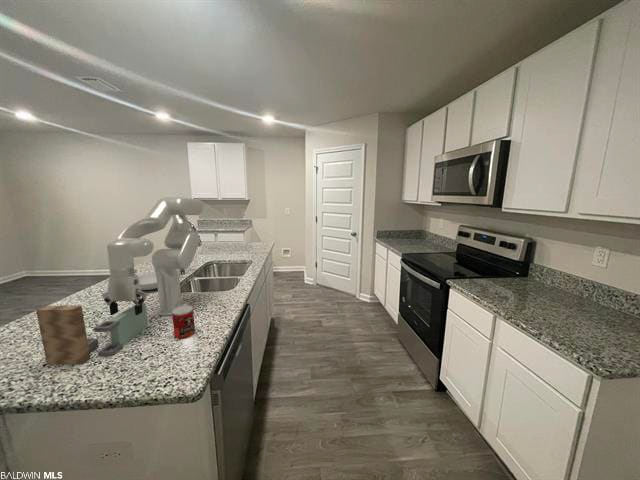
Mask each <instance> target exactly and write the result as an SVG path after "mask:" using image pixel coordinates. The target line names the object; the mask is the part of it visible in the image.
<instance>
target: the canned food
mask: <svg viewBox="0 0 640 480" xmlns="http://www.w3.org/2000/svg"><path fill="white" fill-rule="evenodd" d="M194 315H195V314H194V307H193V306H191V305H189V306H180V307H177V308H175V309H174V310H173V311H172V315H171V316H172V317H171V318H172V323H173V333H174V337H175V338H176V339H181V340H182V339H183V340H184V339H188V338H190V337H192V336H193V335H194V334H195V332H196V328H195V327H196V326H195V316H194Z"/></svg>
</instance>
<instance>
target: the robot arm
mask: <svg viewBox="0 0 640 480" xmlns="http://www.w3.org/2000/svg"><path fill="white" fill-rule="evenodd" d="M204 209H205V208H204V204H203V201H201V200H200V199H198V198H188V197H179V196H178V197H176V196H174V197H173V196H172V197H170V196H168V197H162V198H160V199H159V200H157V202H156V203H155V205H154V206H153V207H152V208H151V209H150V210H149V212H148V213H147V215H145V217H144V218H141V219H139V220H138V221H136V222H134V223H133V224H131V225H129V226H127V227H126V228H125V229H124V230H123V231H121V233H120V234H119V235H118V237H117V238H116V239H115V240H114V241H111V242H108V244H107V246H106V247H107V248H106V250H107V251H106V252H107V258H108V266H109V267H108V268H109V277H108V284H107V291H105V292H104V293H102V294H101V297H102V298H103V301H104V302H105V303H106V305H107V306H109V313H110V316H113V315H116V314H118V313H119V306H118V305H119V304H118V302H132V303H133V304H134V305H136V306H135V315H139V314H140V313H142V310H143V309H142V303H145V301H146V299H147V297H148V295H149V294H148V293H147V292H145V291H144V290H141V286H140V282H139V279H138V276H139V275H138V274H137V272H138V271H137V269H135V266H134V265H135V263H134V262H135V261H134V258H140V257H146V256H148V255H150V254H152V255H151V263H152V266H153V269H154V273H155V272H156V278H157V286H158V288H157V293H158V294H157V295H158V302H159V307H158V308H157V309H156V314H157V315H159V316H161V317H164V316H166V317H167V316H172V311H173V310H174V309H175V308H177V307H180V306H190V302H189V301H186V302H185V301H184V299H182V295H181V294H182V293H181V283H180V275H179V272H178V270H185V269H188V268H189V267H190V266H191V264H192V262H193V260H194V258H195V255H196V253H197V250H198V247H199V245H200V244H199V243H200V238H199V235H198V233H196V232H195V231H191V230H190V229H191V223H190V221H189V219H188V218H187V216H200V215H201V214H202V213H203V212H204ZM171 218H172V223H171V226H170V228H169V230H168V233H166V236H165V239H164V246H165V247H166V248H161V249H157V250H156V251H154V248H155V245H154V243H153V242H152V241H151V240H149V239H147V238H142V237H144V236H146V235H149V234H153V233H156V232H159V231H162V230H163V229H164V228H166V226H167V224H168V223H169V221H170V220H171ZM153 251H154V253H152V252H153Z"/></svg>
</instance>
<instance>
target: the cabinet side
mask: <svg viewBox="0 0 640 480" xmlns="http://www.w3.org/2000/svg"><path fill="white" fill-rule="evenodd" d="M82 306H83V305H45V306H43V307H39V308H37V309H35V313H36V316H37V317H36V318H37V323H38V328H39V331H40V336H41V342H42V347H43V351H44V355H45V361H46V365H48V366H49V364H50V366H51V364H52V366H53V364H67V365H84V364H85V363H87V362H88V361H90V360H91V359H92V358H91V353H93V352H94V351H95V350H97V349H98V348H99V347H100V344H99V340H98V338H88V335H87V330H86V324H85V318H84V312H83V307H82ZM86 361H87V362H86Z"/></svg>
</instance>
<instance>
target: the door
mask: <svg viewBox="0 0 640 480" xmlns="http://www.w3.org/2000/svg"><path fill="white" fill-rule="evenodd" d="M135 306H136V305H135V304H134V305H133V306H131V307H129V308H127V309H126V310H124V311H123V312H120V313H119V314H117V315H116V316H115V317H113V318H111V319H110V320H104V321H103V322H102V323H100V324H98V325H97V326H95V327H94V328H93V330H94V332H95V333H106V332H107V333H109V334H110V340H111V343H109V344H106V346H105V347H103V348H102V349H100V350H99V351H98V352H97V354H98V355H97V356H98V357H114V356H115V355H116V354H117V353H119V351H121V350H122V349H123V348H124V346H125V345H126V344H127V343H129V342H130V341H131V340H132V339H134V338H135V337H136V336H138V335H139V334H140V333H141V332H143V331H144V330H145V329H147V327H149V320H148V311H147V305H146V302H143V303H142V309H143V310H142V313H140V314H139V315H135Z"/></svg>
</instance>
